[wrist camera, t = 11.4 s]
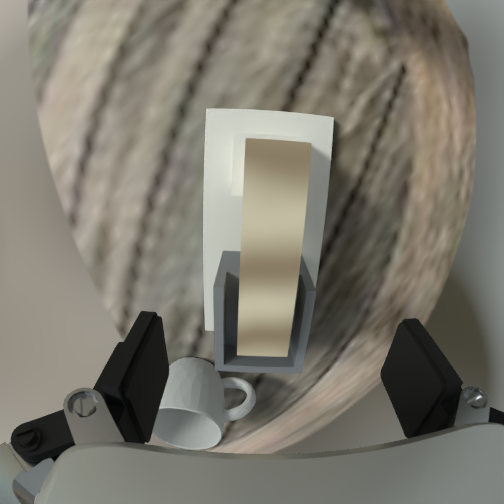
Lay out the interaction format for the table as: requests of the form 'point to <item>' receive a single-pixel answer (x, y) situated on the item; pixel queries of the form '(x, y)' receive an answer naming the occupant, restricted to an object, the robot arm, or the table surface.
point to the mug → (197, 404)
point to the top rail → (271, 243)
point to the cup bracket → (230, 222)
